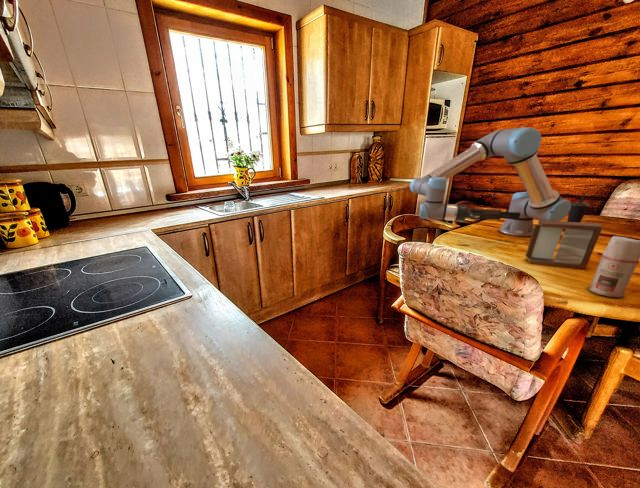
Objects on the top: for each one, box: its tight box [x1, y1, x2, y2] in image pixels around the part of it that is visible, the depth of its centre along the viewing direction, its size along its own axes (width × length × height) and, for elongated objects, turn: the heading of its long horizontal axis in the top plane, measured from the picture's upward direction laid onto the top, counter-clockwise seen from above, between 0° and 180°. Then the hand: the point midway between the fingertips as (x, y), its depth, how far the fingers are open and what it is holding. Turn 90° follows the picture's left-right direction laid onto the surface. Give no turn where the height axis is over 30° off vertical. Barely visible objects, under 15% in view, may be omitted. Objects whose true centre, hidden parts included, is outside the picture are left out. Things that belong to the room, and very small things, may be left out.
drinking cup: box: [566, 192, 590, 223], centre depth 158 cm, size 8×8×20 cm
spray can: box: [588, 235, 640, 298], centre depth 92 cm, size 8×8×20 cm
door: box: [525, 224, 564, 259], centre depth 118 cm, size 2×9×14 cm, turn 63°
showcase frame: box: [526, 220, 604, 270], centre depth 115 cm, size 5×18×18 cm, turn 64°
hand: (519, 215), depth 118 cm, fingers closed
